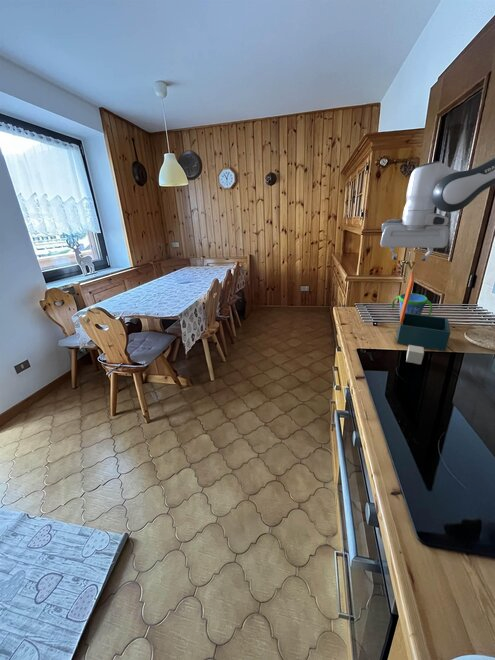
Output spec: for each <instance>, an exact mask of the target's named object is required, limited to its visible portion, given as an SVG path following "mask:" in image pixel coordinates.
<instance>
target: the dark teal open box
mask: <svg viewBox="0 0 495 660" xmlns="http://www.w3.org/2000/svg"><path fill="white" fill-rule="evenodd" d="M451 333H452V332H451V326H450V322H449V318H448V317H442V316H432V315H429V316H428V315H424V314H421V315H417V314H409V313H405V316H404V319H403V323H402V324H400V323H399V324H398V329H397V339H396V340H397V341H396V344H397V345H404V346H409V345H413V346H419V347H424V349H429V350H433V351H434V350H435V351H441V352H446V350H447V346H448V343H449V340H450V336H451Z"/></svg>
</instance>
